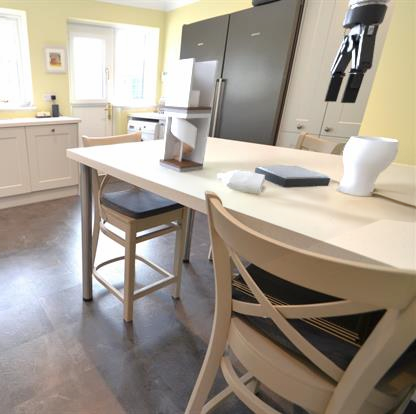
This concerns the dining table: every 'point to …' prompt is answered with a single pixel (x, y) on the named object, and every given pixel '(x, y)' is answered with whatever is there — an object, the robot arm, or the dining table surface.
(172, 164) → the white wooden shelf unit
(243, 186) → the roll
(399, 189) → the dining table surface
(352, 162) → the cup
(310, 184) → the scale
